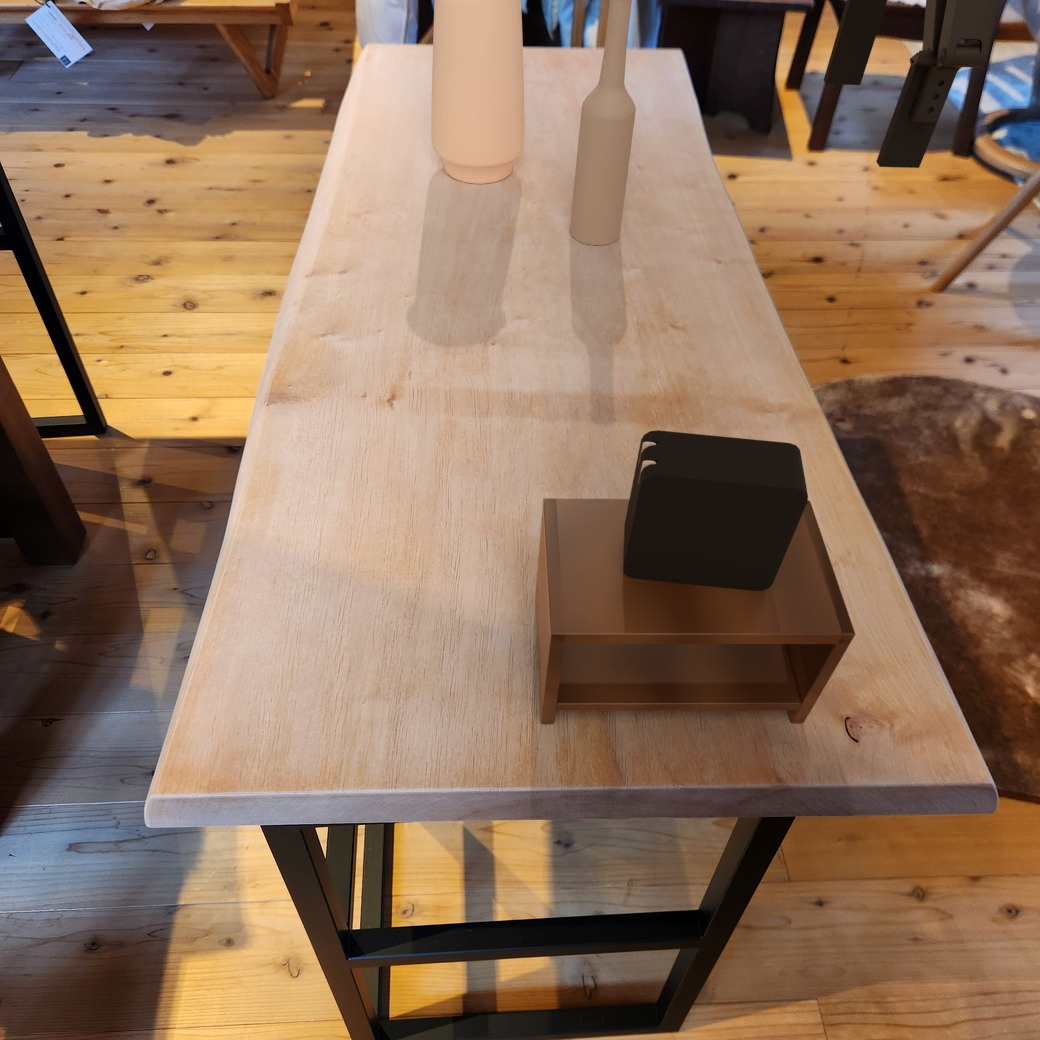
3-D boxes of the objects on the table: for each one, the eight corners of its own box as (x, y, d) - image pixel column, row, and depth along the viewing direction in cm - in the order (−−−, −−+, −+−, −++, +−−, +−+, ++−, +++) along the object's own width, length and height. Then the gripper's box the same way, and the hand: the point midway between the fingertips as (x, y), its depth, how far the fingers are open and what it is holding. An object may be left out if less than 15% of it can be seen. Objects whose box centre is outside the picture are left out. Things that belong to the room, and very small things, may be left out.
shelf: (769, 596, 72) (810, 500, 63) (803, 723, 64) (856, 634, 55) (535, 595, 72) (543, 498, 63) (540, 724, 64) (550, 634, 55)
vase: (523, 191, 118) (532, -43, 97) (429, 188, 117) (418, -48, 97) (523, 148, 126) (531, -75, 106) (435, 145, 126) (427, -79, 105)
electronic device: (769, 593, 57) (812, 491, 50) (621, 578, 58) (642, 474, 50) (763, 546, 60) (803, 443, 53) (622, 532, 61) (643, 427, 53)
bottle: (571, 244, 109) (593, -1, 88) (568, 218, 113) (589, -21, 92) (622, 246, 109) (656, 2, 88) (617, 220, 113) (649, -19, 93)
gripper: (865, -307, 54) (777, 53, 70) (1033, -250, 37) (867, 206, 53) (981, -301, 54) (867, 56, 70) (1198, -242, 38) (984, 208, 53)
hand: (867, 121), depth 62 cm, fingers open, 13 cm apart
